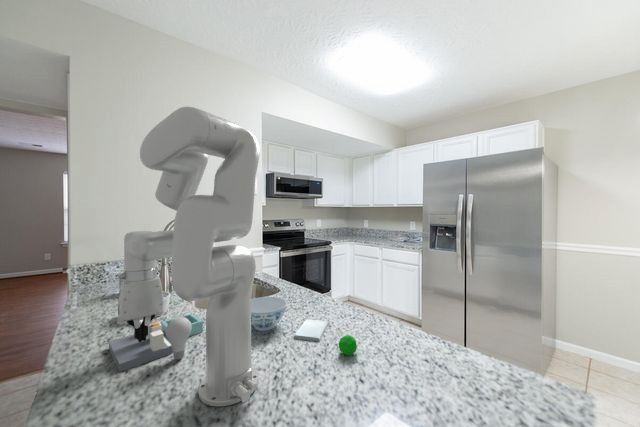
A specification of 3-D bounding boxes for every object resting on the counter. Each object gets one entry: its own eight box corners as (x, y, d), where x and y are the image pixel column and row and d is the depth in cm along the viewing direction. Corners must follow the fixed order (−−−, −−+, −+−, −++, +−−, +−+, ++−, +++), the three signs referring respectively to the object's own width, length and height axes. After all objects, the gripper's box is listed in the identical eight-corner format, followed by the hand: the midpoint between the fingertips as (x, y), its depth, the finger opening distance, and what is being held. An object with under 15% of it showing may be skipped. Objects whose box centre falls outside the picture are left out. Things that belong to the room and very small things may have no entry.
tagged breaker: (161, 338, 76) (161, 323, 76) (151, 341, 74) (151, 326, 74) (158, 335, 78) (158, 320, 78) (149, 338, 76) (149, 323, 76)
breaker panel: (173, 352, 72) (173, 331, 72) (119, 372, 63) (119, 347, 63) (156, 334, 83) (156, 315, 83) (108, 348, 74) (108, 327, 74)
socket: (202, 331, 84) (202, 321, 84) (170, 342, 77) (170, 330, 77) (191, 323, 91) (191, 313, 91) (161, 332, 84) (160, 321, 84)
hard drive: (319, 338, 78) (328, 320, 90) (293, 335, 80) (305, 318, 92) (319, 343, 78) (328, 325, 90) (293, 340, 80) (305, 323, 92)
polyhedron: (353, 348, 74) (353, 331, 74) (359, 357, 69) (359, 340, 69) (336, 349, 73) (336, 333, 73) (341, 359, 68) (341, 341, 68)
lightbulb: (180, 367, 65) (180, 323, 65) (160, 364, 66) (159, 321, 66) (196, 354, 71) (196, 314, 71) (177, 351, 72) (177, 312, 72)
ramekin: (173, 306, 108) (173, 289, 108) (165, 318, 95) (165, 299, 95) (136, 310, 103) (136, 292, 103) (122, 323, 91) (122, 304, 91)
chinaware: (254, 316, 97) (254, 295, 97) (292, 319, 94) (292, 298, 94) (233, 334, 83) (232, 310, 82) (277, 339, 80) (277, 314, 79)
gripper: (109, 282, 65) (110, 355, 65) (174, 272, 76) (174, 334, 76) (104, 277, 70) (105, 345, 70) (166, 268, 81) (166, 327, 81)
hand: (141, 339), depth 73 cm, fingers closed
